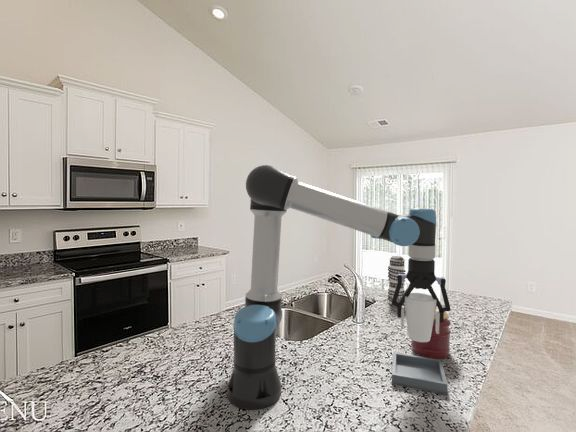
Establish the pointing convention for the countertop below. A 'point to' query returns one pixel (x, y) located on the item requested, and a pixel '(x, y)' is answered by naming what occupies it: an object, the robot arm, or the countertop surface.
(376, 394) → the countertop surface
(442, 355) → the canister
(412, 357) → the tray
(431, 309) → the foam cup
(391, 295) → the decorative candle
